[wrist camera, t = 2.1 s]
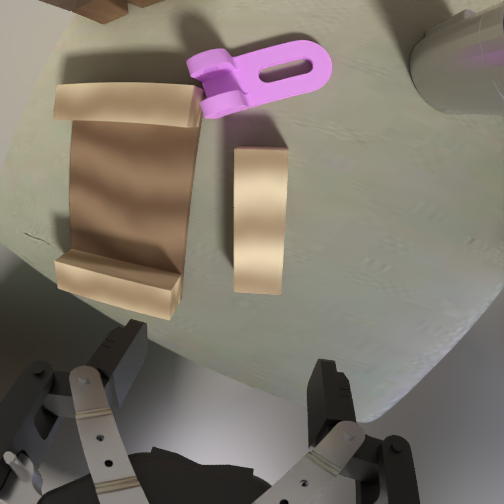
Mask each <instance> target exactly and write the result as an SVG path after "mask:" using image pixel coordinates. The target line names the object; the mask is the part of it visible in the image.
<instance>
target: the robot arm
mask: <svg viewBox="0 0 504 504" xmlns="http://www.w3.org/2000/svg"><path fill="white" fill-rule="evenodd" d="M410 72H411V76H412V80H413V82H414V85H415V87H416V89H417V90H418V92H419V94H420V95H421V96H422V97H423V99H424V100H425V101H426V102H427V103H428V104H430V105H431V106H432V107H434V108H435V109H437V110H439V111H442V112H445V113H453V114H483V115H501V116H504V1H503V2H501V3H498V4H496V5H494V6H492V7H489V8H487V9H485V10H483V11H480V12H478V13H475V12H473V11H471V10H467V9H466V10H463V11H462V12H460V13H458V14H456V15H454V16H452V17H450V18H448V19H447V20H445V21H443V22H441V23H439V24H438V25H436V26H434V27H432V28H430V29H429V30H427V31H426V34H425V38H424V39H423V40H421V41H420V42H419V43H417V45H416V46H415V47H414V49H413V51H412V54H411V58H410ZM147 348H148V343H147V324H146V323H144V322H141V321H137V320H133V319H131V320H129V322H128V323H127V325H126V326H125V328H123V327H117V328H115V329H114V330H112V331H111V332H110V333H109V334H108V335H107V337H106V338H105V340H104V341H103V342H102V344H101V346H99V348H98V349H97V351H96V352H95V353H94V355H93V356H92V358H91V359H90V360H89V362H88V363H87V365H86V366H80V367H77V368H75V369H74V370H73V371H72V372H70V373H68V372H59V371H53V368H52V366H51V365H50V364H49V363H48V362H46V361H42V360H38V361H33V362H32V363H30V364H28V366H27V367H26V368H25V369H24V371H23V372H22V373H21V375H20V376H19V377H18V379H17V380H16V382H15V383H14V384H13V386H12V387H11V388H10V390H9V391H8V393H7V394H6V396H5V397H4V398H3V400H2V401H1V403H0V504H313V503H314V501H315V500H316V499H317V498H318V497H319V496H320V495H321V494H322V493H323V491H324V490H325V489H326V488H327V487H328V486H329V485H330V483H331V482H332V481H333V480H334V479H335V477H336V476H337V475H338V474H339V475H343V476H345V477H349V478H352V479H355V483H356V504H420V500H419V493H418V486H417V480H416V474H415V468H414V463H413V458H412V452H411V448H410V445H409V443H408V442H407V441H406V440H405V439H404V438H402V437H400V436H396V435H392V436H388V437H386V438H385V439H384V440H380V439H376V438H373V437H370V436H368V435H366V434H365V432H364V430H363V428H362V427H361V426H359V425H358V424H357V422H356V417H355V411H354V406H353V400H352V394H351V391H350V390H351V389H350V384H349V380H348V379H347V377H346V376H345V374H344V373H342V372H337V370H336V364H335V361H333V360H326V359H318V360H317V363H316V365H315V368H314V370H313V372H312V375H311V377H310V380H309V382H308V387H307V411H308V442H309V449H313V450H312V452H308V453H307V454H306V455H305V456H304V457H303V458H302V459H301V460H300V461H299V462H298V463H297V464H296V465H295V466H293V467H292V468H291V469H290V470H289V471H288V472H287V473H286V474H285V475H284V476H283V477H282V478H281V479H280V480H278V481H277V482H276V483H275V484H274V485H273V486H271V485H270V484H269V483H268V482H266V481H264V480H263V479H261V478H259V477H257V476H254V475H253V469H252V468H245V467H239V466H233V465H201V464H198V463H196V462H194V461H192V460H189V459H187V458H185V457H183V456H181V455H179V454H177V453H174V452H170V451H167V450H163V449H159V448H156V447H153V448H152V450H151V453H149V452H148V453H147V452H141V453H134V454H130V455H127V453H126V451H125V448H124V446H123V443H122V440H121V437H120V435H119V432H118V429H117V426H116V424H115V420H114V417H113V415H112V411H111V409H110V408H111V406H115V407H117V408H119V407H120V406H121V404H122V402H123V400H124V398H125V396H126V394H127V392H128V390H129V388H130V387H131V385H132V383H133V381H134V379H135V377H136V375H137V373H138V371H139V370H140V368H141V366H142V364H143V362H144V360H145V358H146V355H147V350H148V349H147ZM64 417H70V418H76V422H77V426H78V430H79V434H80V438H81V442H82V446H83V449H84V453H85V456H86V460H87V463H88V467H89V470H90V474H87V475H85V476H83V477H81V478H79V479H76V480H74V481H72V482H70V483H67V484H65V485H63V486H60V487H58V488H56V489H53V490H51V491H49V492H47V493H46V494H44V495H43V496H42V491H41V490H42V489H41V488H42V484H43V479H42V475H41V473H40V472H39V471H38V468H39V466H40V464H41V462H42V460H43V458H44V456H45V454H46V452H47V450H48V448H49V446H50V444H51V442H52V440H53V438H54V436H55V434H56V432H57V430H58V428H59V426H60V424H61V422H62V421H63V418H64Z"/></svg>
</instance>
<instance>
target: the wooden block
mask: <svg viewBox="0 0 504 504" xmlns="http://www.w3.org/2000/svg"><path fill="white" fill-rule="evenodd" d="M39 1H43V2H45V3H48V4H51V5H54V6H57V7H60V8H63V9H66V10H68V11H72V12H74V13H77V14H79V15H82V16H84V17H87V18H89V19H92V20H94V21H97V22H99V23H101V24H106V23H109V22H111V21H113V20H115V19H117V18H120V17H122V16H124V15H127V14H128V7H127V2H128V3H131V4H133V5H136V6H138V7H142V8H143V7H146V6H149V5H152V4H155V3H157V2H160V1H163V0H39Z"/></svg>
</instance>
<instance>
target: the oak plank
mask: <svg viewBox="0 0 504 504" xmlns="http://www.w3.org/2000/svg"><path fill="white" fill-rule="evenodd" d="M288 154H289V150H288V148H280V147H252V146H239V147H237V148H235V149H234V292H243V293H259V294H275V295H281V282H282V267H283V252H284V235H285V217H286V198H287V177H288Z"/></svg>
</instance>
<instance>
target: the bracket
mask: <svg viewBox="0 0 504 504" xmlns="http://www.w3.org/2000/svg"><path fill="white" fill-rule="evenodd" d="M299 59H306V60H308V61H309V62H310V63H311V64H312V71H311V72H309V73H307V74H302V75H298V76H294V77H290V78H286V79H282V80H278V81H274V82H271V83H265V82H263V81H261V80H260V78H259V74H260V72H261V70H263V69H264V68H268V67H271V66H275V65H279V64H283V63H287V62H291V61H295V60H299ZM186 64H187V67H188V70H189V73H190V76H191V77H192V78H195V79H197V80H199V81H201V82H202V85H203V88H204V91H205V94H206V97H207V99H205V100H203V101H202V102H200V107H201V110H202V113H203V116H204V118H211V119H217V118H220V117H223V116H226V115H229V114H232V113H236V112H239V111H242V110H245V109H249V108H252V107H255V106H259V105H262V104H266V103H269V102H273V101H277V100H280V99H284V98H288V97H292V96H296V95H300V94H304V93H308V92H312V91H315V90H318V89H319V88H321V87H322V86H323V85H324V84H325V83H326V82H327V81H328V80H329V78H330V76H331V72H332V62H331V59H330V56H329V55H328V53H327V52H326V50H325V49H324V48H322V47H321V46H320V45H318V44H317V43H314V42H312V41H308V40H297V41H292V42H288V43H284V44H280V45H276V46H272V47H268V48H264V49H261V50H257V51H254V52H250V53H247V54H244V55H240V56H237V57H231V56H230V54H229V53H228V52H227V51H226V49H212V50H208V51H204V52H201V53H199V54H196V55H194V56H193V57H191V58H189V59H188V60H187V62H186Z"/></svg>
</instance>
